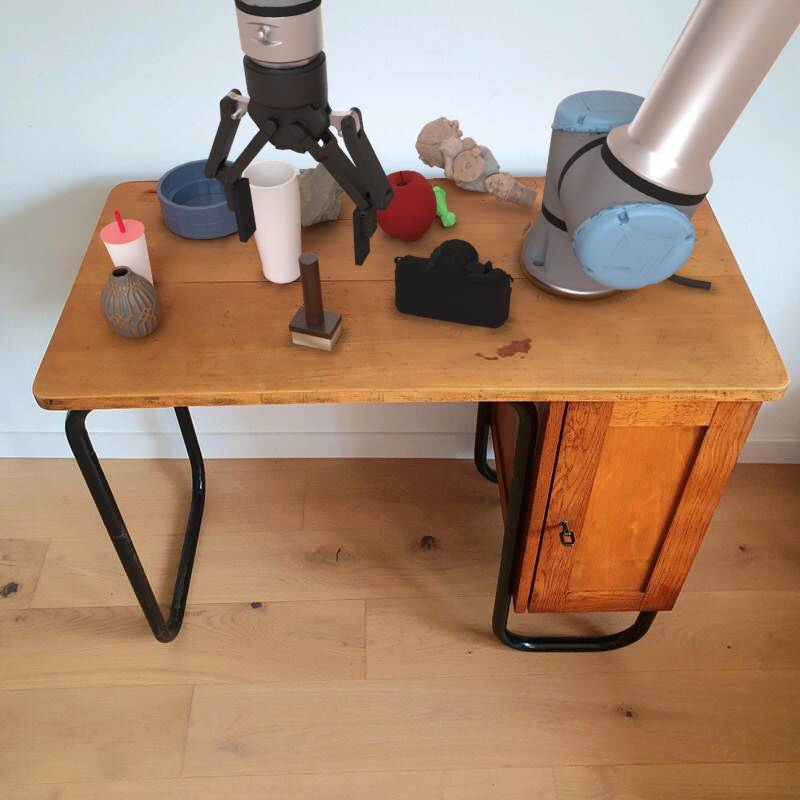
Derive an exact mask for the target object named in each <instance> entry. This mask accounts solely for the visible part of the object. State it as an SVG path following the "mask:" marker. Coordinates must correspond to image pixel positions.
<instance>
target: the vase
mask: <svg viewBox="0 0 800 800" xmlns="http://www.w3.org/2000/svg"><path fill="white" fill-rule="evenodd" d="M100 310H101V313H102V315H103V318H104V320H105V322H106V324H107V325H108V327H109V328H110V329H111V330H113V332H115V333H116V334H117V335H119V336H121V337H124V338H128V339H142V338H146V337H147V336H149V335H150V334H152V333H153V332H154V331H155V330H156V329H157V328H158V326H159V324H160V322H161V320H162V314H163V306H162V301H161V297H160V294H159V292H158V291H157V289H156V288H155V286H154V284H153V285H152V284H151V283H150V282H149V281H148V280H147V279H146V278H144V277H142V276H140V275H139V274H137V273H135V272H133V271H132V270H131V269H130V268H129V267H127V266H118V267H115V266H114V267H113V268H112V269H111V270H110V271H109V274H108V279H107V280H106V282H105V284H104V285H103V288H102V290H101V293H100Z"/></svg>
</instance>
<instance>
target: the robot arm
mask: <svg viewBox="0 0 800 800" xmlns="http://www.w3.org/2000/svg"><path fill="white" fill-rule="evenodd" d="M322 1H323V0H234V1H233V2H234V9H235V15H236V21H237V29H238V34H239V35H238V36H239V42H240V48H241V51H242V52H243V53H244V56H243V58H242V64H243V72H244V78H245V85H246V92H247V95H248V96H244V95H243V94H242V92H241V90H240V89H238V88H231V90H230V91H228V92H227V94H226V95H224V96H223V97H222V98H221V99H220V100H219V115H220V120H219V123H218V127H217V129H216V133H215V136H214V139H213V142H212V145H211V148H210V152H209V154H208V158H207V159H208V160H207V164H206V167H205V170H204V175H205V176H206V177H207V178H208V179H214V178H215V179H217V180H219V181H220V182H221V184H222V185H223V186H224V189H225V195H226V200H227V206H228V208H229V210H230V211H233V212H235V216H236V221H237V227H238V231H237V232H238V237H239V238H238V239H239V242H240V243H248V241H249V240H250V239H251V238H252V236H254V232H255V231H256V230H257V228H256V222H255V215H254V209H253V203H252V196H251V190H250V184H249V178H245V177H242V178H241V179H240V178H239V176H240V175H241V174H242V173H243V171H244V170H245V169H246V168H247V167H248V166H249V165H251V164H252V162H253V161H254V159H255V158H256V157H257V156H258V154H259V153H260V152H261V151H262V150H263V148H264V147H265V146H266V145H267V144H268V142H269V144H271V145H272V146H274V149H275V150H279V151H292V152H295V153H297V154H302V155H305V154H306V153H309V155H310V156H311V157H312V158H313V160H314V161H315V162H316V163H319V162H321V163H322V164H323V166H324V167H325V168H326V169H327V170H328V172H329V173H330V174H331V175H332V177H333V178H334V179H335V180H336V181H337V183H338V184H339V185H340V186H341V187H342V189H343V190H344V193H346V195H347V196H348V198H349V199H350V200H351V201H352V202H353V204H354V205H355V208H354V210H353V211H352V213H351V215H352V234H353V250H354V251H353V253H354V265H355V266H359V267H362V266H363V265H364V263H365V262H366V260H367V258H368V256H369V255H370V253H371V241H370V240H371V239H372V238H373V236H374V234H375V233H376V231H377V229H378V222H377V209H379V210H381V211H385V210H386V209H387V208H388V206H389V205H390V203H391V201H392V200H393V198H394V196H395V192H394V190H393V188H392V186H391V184H390V182H389V180H388V178H387V174H386V172H385V170H384V168H383V166H382V164H381V162H380V160H379V158H378V155H377V154H376V151H375V150H374V148H373V146H372V144H371V142H370V139H369V137H368V135H367V133H366V132H365V129H364V122H363V114H362V111H361V109H360V108H359V107H357V106H352V107H351V108H350V109H349V110H348V111H341V110H340V111H338V110H333V109H332V107H331V105H330V103H329V81H328V68H327V54H326V53H325V51H324V48H325V46H326V36H325V35H326V34H325V24H324V23H325V22H324V12H323V2H322ZM799 25H800V0H698V2H697V3H696V5H695V7H694V8H693V10H692V13H691V14H690V15H689V18H688V20H687V21H686V23H685V25H684V27H683V28H682V31H681V32H680V34H679V36H678V38H677V40H676V41H675V43H674V45H673V47H672V49H671V51H670V52H669V54H668V55H667V58H666V60H665V61H664V63H663V64H662V67H661V69H660V70H659V73H658V74H657V76H656V78H655V80H654V81H653V83H652V85H651V87H650V89H649V91H648V93H646V96H645V97H644V96H640V95H638V94H634V93H630V92H626V91H619V90H611V89H607V90H606V89H605V90H604V89H601V90H600V89H597V90H596V89H595V90H584V91H580V92H576V93H573V94H571V95H568V96H566V97H564V98H563V99H562V100H561V101H559V102H558V104H557V106H556V108H555V113H554V117H553V122H552V123H551V125H550V128H551V135H550V142H549V150H548V155H547V164H546V171H545V179H544V184H543V190H542V191H543V193H542V199H541V207H540V210H539V213H537V214H538V215H537V216H536V218H535V220H534V222H533V223H532V220H530V221H529V222H528V224H527V225H526V226H525V227H524V229H523V230H522V237H524V236H525V234H526V233H527V232H528V233H527V234H526V236H525V238H524V240H523V244H522V245H521V250H520V259H519V264H520V269H521V271H522V273H523V275H524V276H525V278H526V279H527V280H528V281H529V282H530V283H531V284H532V285H534V286H535V287H536V288H537V289H540V290H541V291H543V292H545V293H548V294H550V295H552V296H555V297H559V298H563V299H567V300H572V301H598V300H604V299H608V298H611V297H613V296H616V295H618V294H620V293H622V292H623V291H627V290H629V291H630V290H638V289H643V288H644V287H647V286H649V285H657V284H659V283H661V282H663V281H665V280H669V281H671V282H672V283H675V284H679V285H683V286H687V287H692V288H698V289H705V290H711V287H712V282H711V281H706V280H700V279H693V278H687V277H684V276H680V275H678V274H676V273H678V272H679V270H680V269H682V268H683V266H685V264H686V263H687V262H688V261H689V259H690V257H691V256H692V253H693V251H694V248H695V243H696V228H695V226H694V222H692V221H691V219H692V218H693V216H694V214H695V213H696V211H697V210H698V209H699V206H701V204H702V202H703V201H704V199H705V198H706V196H707V195H708V193H709V192H710V190H711V189H712V187H713V184H714V178H713V172H712V168H711V166H710V163H711V161H712V159H713V157H714V156H715V155H716V153H717V151H718V150H719V148H720V147H721V145H722V144H723V142H724V141H725V140H726V138H727V137H728V135H729V134H730V132H731V130H732V128H733V127H734V125H735V124H736V122H737V121H738V119H739V117H741V115H742V113H743V111H744V110H745V108H746V107H747V105H748V104H749V102H750V101H751V99H752V98H753V96H754V95H755V93H756V92H757V90H758V88H759V87H760V86H761V84H762V83H763V81H764V80H765V78H766V77H767V75H768V73H769V71H770V70H771V69H772V67H773V66H774V64H775V62H776V61H777V60H778V58H779V56H780V55H781V53H782V51H783V50H784V48H785V47H786V45H787V44H788V42H789V41H790V39H791V38H792V37H793V35H794V33H795V31H796V30H797V29H798V28H799ZM246 114H247V115H248V116H249V117H250V119H251V120H252V122H253V124H255V125H256V127H257V128H258V129H259V130H258V131H257V132H256V133H255V135H254V136H253V137H252V139H251V140H250V141H249V143H248V144H247V145H246V147H245V148H244V149H243V150H242V151H241V153H240V154H239V155H238V156H237V157H236V159H235V160H234V161H233V162H234V163H233V164H232V165H231V167H230V166H228V165H226V161H227V160H228V158H229V155H230V153H231V149H232V146H233V145H234V144H233V143H234V140H235V138H236V135H237V132H238V129H239V127H240V123H241V120H242V119H243V118H244V117H245V115H246ZM331 126H332V127H334V128H335V129H336V132H337V136H338V137H339V138H342V140H343V144H344V146H345V148H346V151H347V152H348V154H349V156H348V155H347V154H346V153H345V152H344V150H343V148H342V147H341V146H340V145H339V142H338V138H337V136H335V134H334V133H333V132H332V130H331V129H330V127H331ZM320 141H322V145H320V144H319V142H320ZM349 157H350V158H351V159H350V158H349Z"/></svg>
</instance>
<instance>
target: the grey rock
mask: <svg viewBox="0 0 800 800" xmlns="http://www.w3.org/2000/svg"><path fill="white" fill-rule="evenodd" d="M298 171H299V174H297V177H298V183H299V191H300V202H301V227H303V228H306V227H311V226H313V225H316V224H318V223H320V222H325V221H332V220H333V221H335V220H338V217H339V215H340V213H341V210H342V203H343V199H344V196H345V191H344V190H343V189H342V187H341V186H340V185H339V184H338V183H337V181H336V180H335V179H334V178H333V177H332V175H331V174H330V173H329V172H328V170H327V169H326V168H325V167H324V166H323V164H322V163H321V162H318V163H317V165H316V167H314V168H313V167H311V168H299V169H298Z"/></svg>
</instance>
